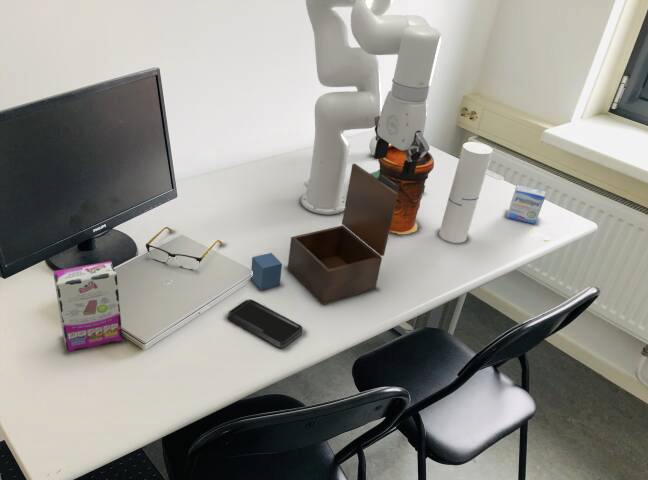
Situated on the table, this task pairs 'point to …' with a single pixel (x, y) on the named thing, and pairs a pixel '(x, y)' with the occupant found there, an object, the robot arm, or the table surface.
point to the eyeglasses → (177, 254)
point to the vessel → (405, 188)
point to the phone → (265, 323)
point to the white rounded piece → (373, 145)
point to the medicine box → (526, 204)
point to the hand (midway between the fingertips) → (393, 167)
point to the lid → (370, 207)
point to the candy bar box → (88, 305)
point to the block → (266, 271)
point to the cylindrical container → (465, 191)
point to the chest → (333, 264)
